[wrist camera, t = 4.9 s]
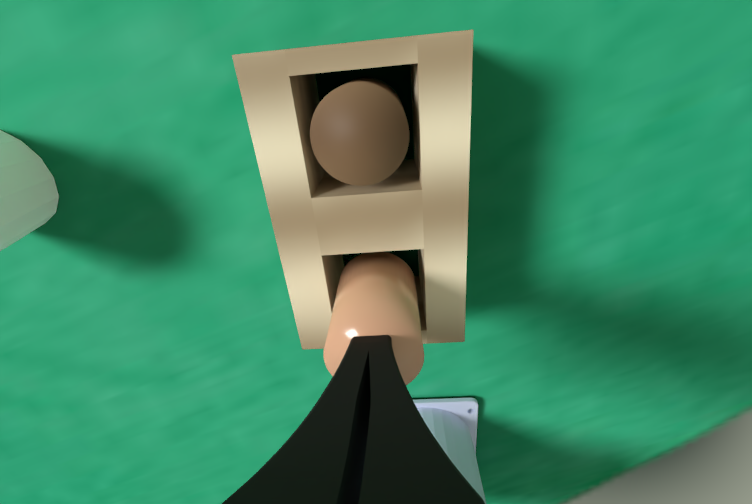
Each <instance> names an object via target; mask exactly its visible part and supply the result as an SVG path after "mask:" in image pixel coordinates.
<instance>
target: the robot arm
mask: <svg viewBox="0 0 752 504" xmlns="http://www.w3.org/2000/svg"><path fill="white" fill-rule="evenodd" d="M477 420H478V402H477V400H476V399H475V398H444V399H417V400H412V398H411V396H410V394H409V392H408V390H407V387H406V385H405V383H404V380H403V378H402V376H401V373H400V371H399V368H398V365H397V362H396V359H395V356H394V352H393V348H392V339H391V337H390V336H389V335H374V336H354V337H353V338H352V339H351V341H350V344H349V346H348V348H347V350H346V353H345V355H344V357H343V359H342V361H341V363H340V365H339V367H338V368H337V370H336V372H335V374H334V376H333V377H332V379H331V381H330V383H329V384H328V386H327V387H326V389H325V391H324V392H323V394H322V395H321V397H320V398H319V400H318V401H317V403H316V404H315V406H314V407H313V409H312V410H311V411H310V413H309V414H308V415H307V417H306V418H305V419H304V421H303V422H302V423H301V425H300V426H299V427H298V428H297V430H296V431H295V432H294V433H293V434H292V435H291V437H290V438H289V439H288V440H287V441H286V443H285V444H284V445H283V446H282V447H281V448H280V449H279V450H278V451H277V452H276V453H275V454H274V455H273V456H272V458H271V459H270V460H269V461H268V462H267V463H266V464H265V465H264V466H263V467H262V468H261V469H260V470H259V471H258V472H257V473H256V474H255V475H254V476H253V477H251V478H250V479H249V480H248V481H247V482H246V483H245V484H244V485H243V486H241V487H240V488H239V489H238V490H237V491H236V492H235V493H233V494H232V495H231V496H230V497H229V498H228V499H227V500H225V501H224V502H223V503H222V504H486V500H485V495H484V491H483V486H482V482H481V477H480V473H479V468H478V463H477V459H476V438H477Z"/></svg>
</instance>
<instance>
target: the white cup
mask: <svg viewBox="0 0 752 504" xmlns="http://www.w3.org/2000/svg"><path fill="white" fill-rule="evenodd" d="M58 200H59V194H58V191H57V187H56V183H55V180H54V177H53V175H52V174H51V172H50V171H49V169H48V168H47V166H46V165H45V163H44V162H43V160H42V159H41V157H39V156H38V155H37V154H36V153H35V152H34V151H33V150H31V149H30V148H29V147H28V146H27V145H26V144H25V143H23V142H22V141H21V140H19V139H17V138H15V137H13V136H11V135H9V134H7V133H5V132H3V131H1V130H0V251H1V250H3V249H5V248H6V247H8V246H9V245H11V244H13V243H14V242H16V241H17V240H19V239H21V238H22V237H24V236H26V235H27V234H29V233H30V232H32V231H34V230H35V229H37V228H38V227H40V226H42V225H43V224H45V223H46V222H47V221H48V220H49V219H50V218H51V217H52V216H53V215H54V214H55V213H56V210H57V205H58Z"/></svg>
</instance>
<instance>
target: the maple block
mask: <svg viewBox="0 0 752 504" xmlns="http://www.w3.org/2000/svg"><path fill="white" fill-rule="evenodd" d="M232 58H233V62H234V66H235V70H236V74H237V79H238V83H239V87H240V91H241V95H242V99H243V104H244V108H245V112H246V116H247V120H248V124H249V129H250V133H251V137H252V141H253V145H254V150H255V154H256V158H257V162H258V166H259V170H260V175H261V179H262V183H263V187H264V191H265V195H266V200H267V204H268V208H269V212H270V216H271V221H272V225H273V229H274V233H275V237H276V241H277V246H278V250H279V254H280V258H281V262H282V266H283V271H284V275H285V279H286V283H287V287H288V291H289V296H290V300H291V304H292V308H293V312H294V317H295V321H296V325H297V329H298V333H299V337H300V342H301V346H302V349H321V348H324V347H325V343H326V338H327V334H328V329H329V325H330V320H331V316H332V311H333V307H334V302H335V298H336V293H337V289H338V284H339V280H340V276H341V273H342V270H343V269H344V262H343V255H342V254H353V253H369V252H384V251H399V250H414V249H418V263H419V276H414V277H415V284H416V292H417V301H418V309H419V317H420V326H421V334H422V342H423V344H425V343H446V342H464V341H465V306H466V271H467V235H468V200H469V165H470V130H471V95H472V59H473V30H465V31H455V32H446V33H436V34H427V35H417V36H408V37H398V38H389V39H379V40H370V41H360V42H351V43H341V44H332V45H322V46H313V47H303V48H294V49H284V50H275V51H265V52H256V53H246V54H237V55H232ZM405 64H410V70H411V94H412V118H413V143H414V159H407V160H403V161H402V163H401V165H400V166H399V167H398V169H397V170H396V171H395V172H394V173H393V174H392V175H390V176H389V177H388V178H386V179H384V180H383V181H380V182H378V183H375V184H371V185H365V186H357V185H351V184H346V183H344V182H341V181H339V180H337V179H335V178H334V177H332V176H331V175H330V174H329V173H327V172H326V171H325V170H324V168H323V167H322V166H321V165H320V163H319V162H318V160H317V159H316V157H315V155H314V152H313V149H312V146H311V141H310V125H311V120H312V117H313V114H314V112H315V109H316V108H317V106H318V104H319V103H320V102H319V95H318V88H317V82H316V75H315V73H325V72H335V71H345V70H355V69H365V68H375V67H385V66H395V65H405Z"/></svg>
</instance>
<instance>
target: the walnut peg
mask: <svg viewBox="0 0 752 504" xmlns="http://www.w3.org/2000/svg"><path fill="white" fill-rule="evenodd" d="M310 141H311V146H312V149H313V152H314V155H315V157H316V159H317V160H318V162H319V163H320V165H321V166H322V167H323V168H324V170H325V171H326V172H327V173H329V174H330V175H331V176H332V177H334V178H335V179H337V180H339V181H341V182H344V183H346V184H351V185H357V186H365V185H371V184H375V183H378V182H380V181H383V180H384V179H386V178H388V177H389V176H390V175H392V174H393V173H394V172H395V171H396V170H397V169H398V167H399V166H400V165H401V163H402V161H403V160H404V158H405V155H406V153H407V149H408V145H409V126H408V122H407V118H406V115H405V111H404V108H403V105H402V102H401V100H400V98H399V96H398V94H397V93H396V92H395V90H394V89H393V88H392V87H391V86H390V85H388V84H387V83H385V82H384V81H382V80H379V79H377V78H373V77H360V78H356V79H353V80H351V81H349V82H347V83H345V84H343V85H341V86H339V87H337V88H336V89H334V90H332V91H331V92H330V93H328V94H327V95H326V96H325V97H324V98H323V99H322V100H321V102H320V103H319V104H318V106H317V108H316V109H315V112H314V114H313V117H312V120H311V125H310Z"/></svg>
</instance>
